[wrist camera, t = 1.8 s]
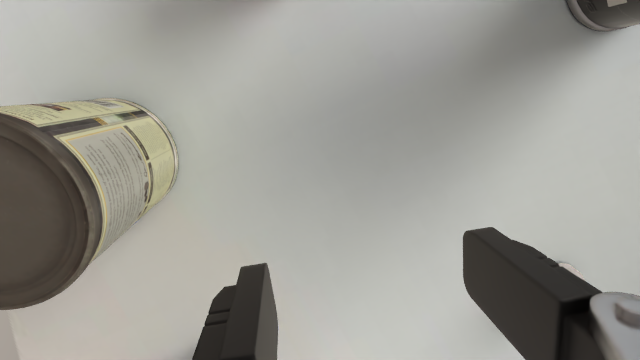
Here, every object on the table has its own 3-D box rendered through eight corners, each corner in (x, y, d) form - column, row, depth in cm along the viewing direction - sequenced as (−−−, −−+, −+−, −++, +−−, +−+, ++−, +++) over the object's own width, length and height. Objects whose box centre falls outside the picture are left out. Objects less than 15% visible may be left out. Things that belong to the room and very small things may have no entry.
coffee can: (95, 229, 31) (-54, 339, 17) (30, 123, 28) (-211, 157, 14) (200, 189, 31) (132, 269, 17) (145, 79, 28) (11, 71, 14)
